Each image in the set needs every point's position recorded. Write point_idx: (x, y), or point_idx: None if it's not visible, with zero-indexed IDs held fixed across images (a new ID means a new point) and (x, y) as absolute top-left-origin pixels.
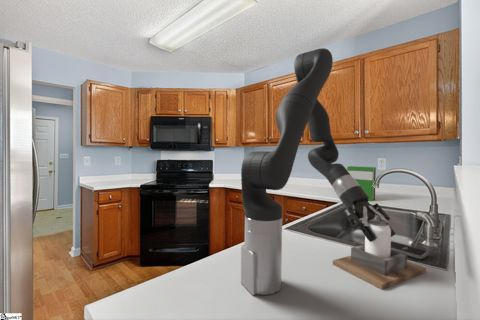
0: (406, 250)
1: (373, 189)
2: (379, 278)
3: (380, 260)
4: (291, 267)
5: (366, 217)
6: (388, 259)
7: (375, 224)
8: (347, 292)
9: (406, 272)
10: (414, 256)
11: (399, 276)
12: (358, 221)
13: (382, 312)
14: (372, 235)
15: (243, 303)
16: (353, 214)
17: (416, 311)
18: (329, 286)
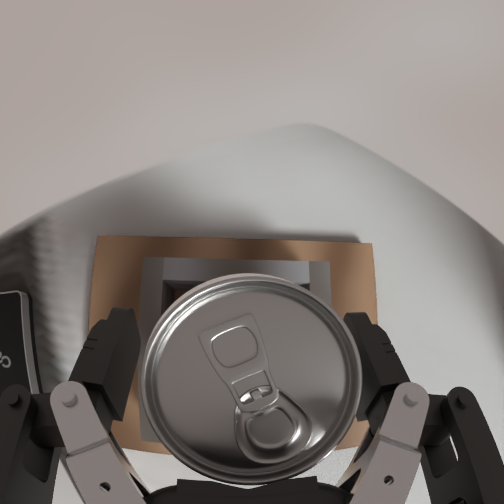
0: (12, 347)
1: None
2: (345, 271)
3: (328, 283)
4: None
5: (392, 450)
6: (294, 266)
7: (306, 380)
8: (448, 282)
9: (204, 250)
10: (27, 313)
11: (264, 245)
12: (472, 409)
13: (431, 196)
14: (369, 330)
15: None
16: (499, 467)
17: (366, 158)
18: (464, 322)
